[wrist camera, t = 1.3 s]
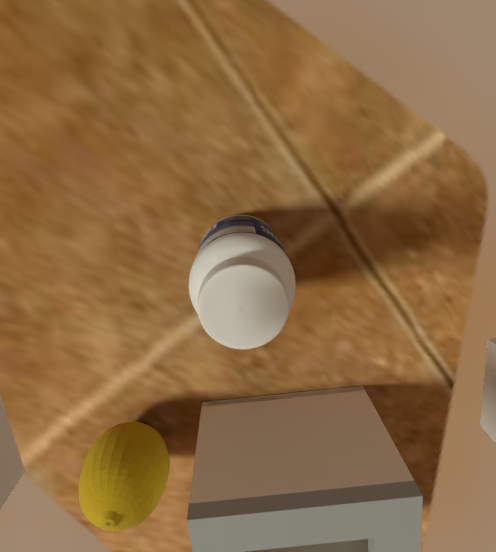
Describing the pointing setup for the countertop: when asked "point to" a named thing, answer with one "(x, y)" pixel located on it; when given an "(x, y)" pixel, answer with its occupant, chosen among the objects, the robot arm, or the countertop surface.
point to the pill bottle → (242, 282)
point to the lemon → (123, 476)
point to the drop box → (300, 477)
